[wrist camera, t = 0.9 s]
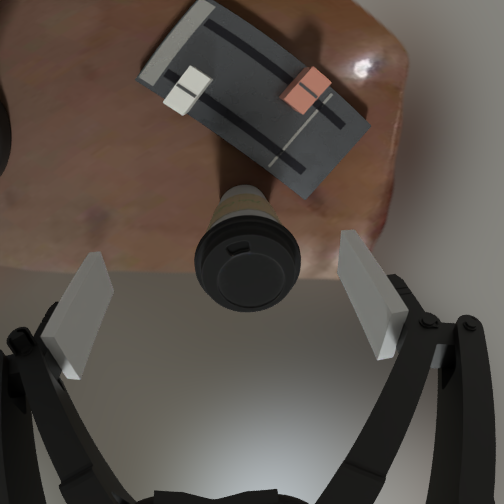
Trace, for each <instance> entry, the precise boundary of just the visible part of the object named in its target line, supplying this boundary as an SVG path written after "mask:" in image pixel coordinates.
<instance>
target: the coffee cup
mask: <svg viewBox="0 0 504 504" xmlns="http://www.w3.org/2000/svg"><path fill="white" fill-rule="evenodd" d="M194 264H195V271H196V276H197V279H198V281H199V283H200V285H201V287H202V288H203V289H204V291H205V292H206V293H207V294H208V295H209V296H210V297H211V298H212V299H213V300H214V301H215V302H217V303H218V304H220V305H221V306H223V307H225V308H227V309H231V310H233V311H238V312H256V311H261V310H265V309H267V308H270V307H272V306H274V305H276V304H277V303H279V302H280V301H281V300H282V299H283V298H284V297H285V296H286V295H287V294H288V293H289V291H290V290H291V289H292V287H293V286H294V284H295V283H296V281H297V279H298V276H299V273H300V267H301V255H300V249H299V246H298V244H297V242H296V240H295V238H294V236H293V235H292V234H291V233H290V232H289V231H288V230H287V229H286V228H285V227H284V226H283V225H282V224H281V222H280V220H279V218H278V216H277V215H276V213H275V211H274V209H273V208H272V206H271V205H270V203H269V202H268V201H267V200H266V198H265V196H264V195H263V193H262V192H261V191H260V190H259V189H258V188H256V187H254V186H251V185H239V186H235V187H233V188H231V189H229V190H228V191H227V192H226V193H225V194H224V195H223V196H222V198H221V200H220V203H219V205H218V207H217V208H216V210H215V211H214V214H213V216H212V219H211V221H210V224H209V226H208V229H207V231H206V233H205V235H204V236H203V237H202V239H201V240H200V242H199V244H198V246H197V249H196V252H195V259H194Z"/></svg>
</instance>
